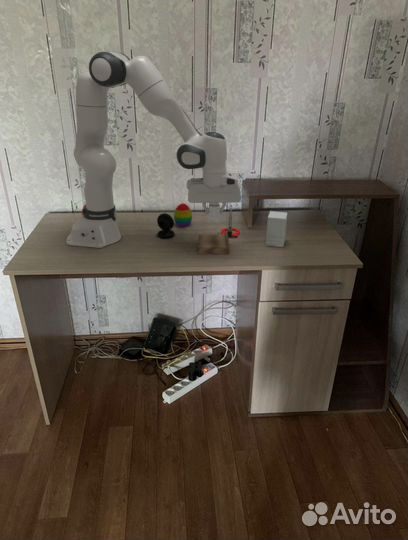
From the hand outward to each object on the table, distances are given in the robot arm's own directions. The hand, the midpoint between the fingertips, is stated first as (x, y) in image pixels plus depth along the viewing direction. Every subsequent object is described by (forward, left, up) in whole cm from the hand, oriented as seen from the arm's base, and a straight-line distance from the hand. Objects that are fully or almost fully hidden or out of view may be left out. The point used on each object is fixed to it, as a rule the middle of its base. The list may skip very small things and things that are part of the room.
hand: (214, 212), depth 158 cm
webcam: (-20, +12, -15) cm, 28 cm away
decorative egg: (-13, +24, -15) cm, 31 cm away
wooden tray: (0, 0, -15) cm, 15 cm away
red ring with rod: (+8, +14, -15) cm, 22 cm away
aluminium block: (0, 0, -2) cm, 2 cm away
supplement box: (+26, +4, -15) cm, 30 cm away
